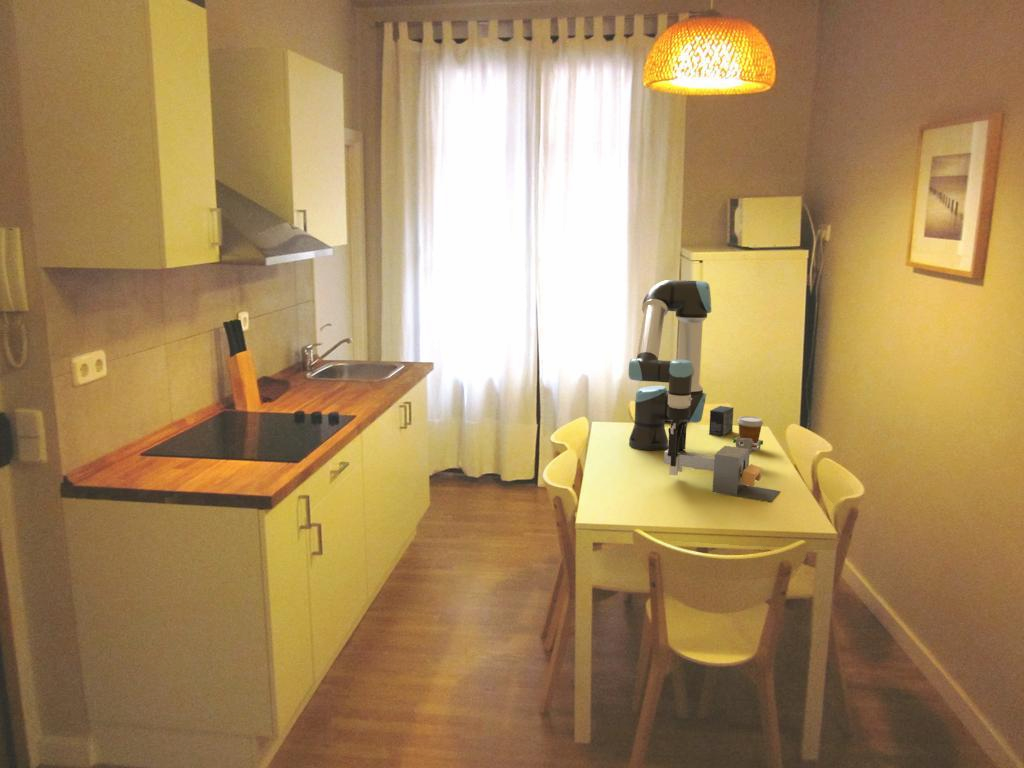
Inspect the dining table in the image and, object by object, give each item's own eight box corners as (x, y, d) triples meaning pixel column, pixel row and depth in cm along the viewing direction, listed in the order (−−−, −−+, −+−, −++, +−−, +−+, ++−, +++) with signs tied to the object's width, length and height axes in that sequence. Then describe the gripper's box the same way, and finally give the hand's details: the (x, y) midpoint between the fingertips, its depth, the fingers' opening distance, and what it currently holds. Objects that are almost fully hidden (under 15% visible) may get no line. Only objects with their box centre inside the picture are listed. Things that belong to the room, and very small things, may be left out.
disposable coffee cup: (734, 450, 327) (736, 420, 325) (737, 444, 336) (739, 414, 333) (759, 453, 323) (761, 422, 321) (762, 447, 332) (764, 417, 330)
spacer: (740, 482, 275) (743, 470, 274) (748, 476, 281) (750, 464, 279) (752, 486, 273) (754, 474, 272) (760, 479, 279) (762, 467, 277)
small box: (718, 429, 359) (719, 405, 357) (732, 431, 355) (734, 407, 353) (708, 434, 350) (709, 409, 348) (723, 437, 346) (724, 412, 344)
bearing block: (712, 492, 278) (714, 454, 275) (722, 482, 288) (724, 445, 285) (736, 496, 274) (739, 457, 271) (746, 486, 284) (748, 449, 281)
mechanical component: (761, 467, 305) (763, 440, 303) (731, 465, 307) (733, 439, 305) (760, 465, 308) (762, 438, 306) (731, 463, 310) (733, 437, 308)
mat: (733, 496, 274) (733, 494, 274) (743, 485, 285) (743, 484, 284) (771, 502, 269) (771, 501, 268) (779, 492, 279) (779, 490, 279)
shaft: (663, 463, 289) (664, 451, 288) (667, 460, 292) (668, 449, 291) (740, 475, 276) (740, 463, 275) (743, 472, 280) (743, 460, 279)
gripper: (682, 412, 275) (678, 481, 280) (697, 402, 290) (693, 468, 295) (659, 409, 279) (656, 477, 284) (676, 400, 294) (673, 465, 298)
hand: (675, 472), depth 289 cm, fingers closed on shaft, 4 cm apart
